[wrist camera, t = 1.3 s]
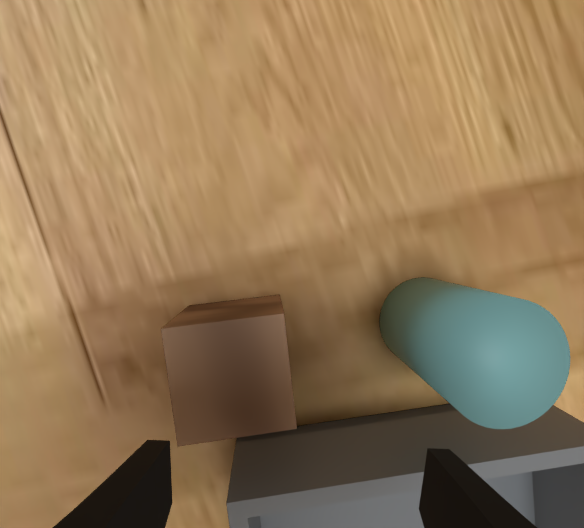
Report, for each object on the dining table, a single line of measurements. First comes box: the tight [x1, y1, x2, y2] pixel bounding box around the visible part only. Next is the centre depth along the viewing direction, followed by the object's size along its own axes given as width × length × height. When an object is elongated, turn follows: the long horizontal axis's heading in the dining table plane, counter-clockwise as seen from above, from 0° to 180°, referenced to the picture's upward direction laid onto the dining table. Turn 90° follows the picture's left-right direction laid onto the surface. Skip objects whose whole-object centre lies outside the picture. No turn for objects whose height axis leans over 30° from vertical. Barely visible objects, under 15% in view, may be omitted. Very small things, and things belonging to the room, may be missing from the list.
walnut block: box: [161, 295, 297, 446], centre depth 16 cm, size 5×5×5 cm
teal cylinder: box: [379, 277, 570, 429], centre depth 16 cm, size 5×5×7 cm
